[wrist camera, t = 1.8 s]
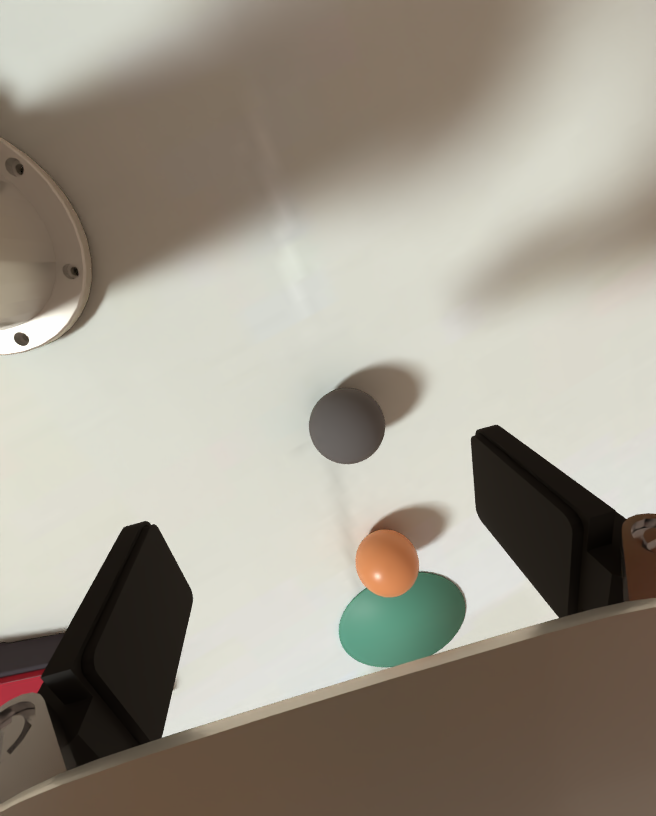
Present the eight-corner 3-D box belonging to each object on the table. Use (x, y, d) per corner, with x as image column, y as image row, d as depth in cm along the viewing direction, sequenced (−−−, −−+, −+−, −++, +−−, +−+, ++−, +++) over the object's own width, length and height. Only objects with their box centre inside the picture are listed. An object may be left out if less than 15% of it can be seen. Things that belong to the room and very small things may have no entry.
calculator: (146, 732, 35) (-29, 774, 33) (157, 685, 39) (1, 720, 37) (115, 657, 31) (-87, 699, 29) (131, 613, 35) (-47, 647, 33)
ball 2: (343, 527, 33) (356, 575, 28) (400, 509, 33) (422, 553, 28) (358, 569, 36) (371, 620, 31) (411, 552, 36) (433, 600, 31)
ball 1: (297, 391, 28) (302, 419, 23) (365, 369, 28) (385, 393, 23) (317, 450, 30) (326, 489, 25) (380, 430, 30) (402, 464, 25)
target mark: (323, 598, 36) (323, 600, 36) (455, 555, 37) (456, 556, 36) (356, 680, 42) (357, 681, 42) (471, 641, 42) (472, 643, 42)
